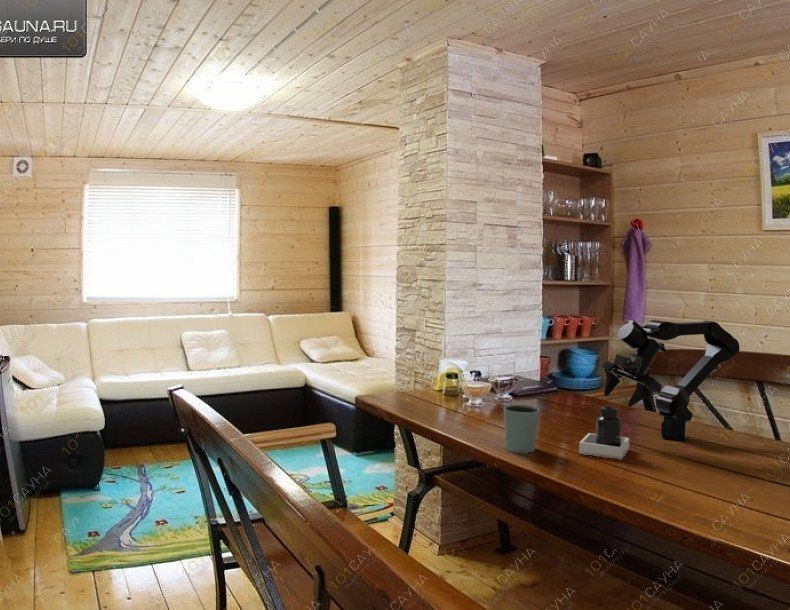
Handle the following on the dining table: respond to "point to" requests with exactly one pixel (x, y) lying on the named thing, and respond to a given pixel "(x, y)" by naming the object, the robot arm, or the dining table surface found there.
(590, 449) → the tray
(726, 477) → the dining table surface
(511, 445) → the grey-green cup
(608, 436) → the supplement bottle
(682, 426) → the robot arm
